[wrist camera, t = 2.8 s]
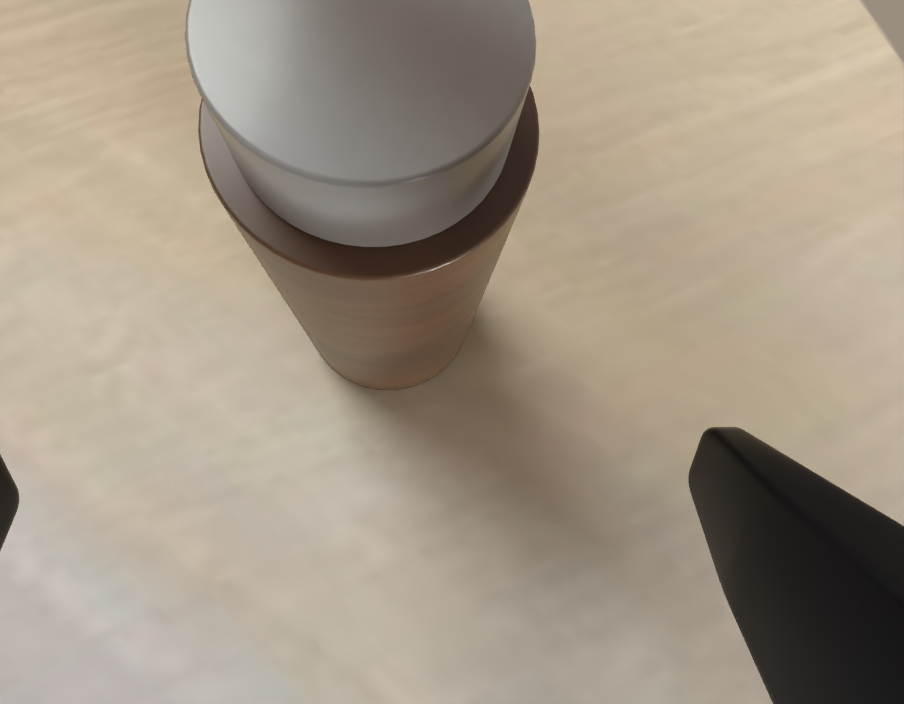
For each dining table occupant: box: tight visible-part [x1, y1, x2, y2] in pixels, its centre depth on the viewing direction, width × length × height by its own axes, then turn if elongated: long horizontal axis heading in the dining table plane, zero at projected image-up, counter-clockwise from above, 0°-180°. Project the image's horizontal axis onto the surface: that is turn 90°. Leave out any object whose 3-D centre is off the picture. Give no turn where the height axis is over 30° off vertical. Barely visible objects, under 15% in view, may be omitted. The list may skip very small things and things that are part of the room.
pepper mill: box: [185, 0, 539, 390], centre depth 14 cm, size 6×6×13 cm
